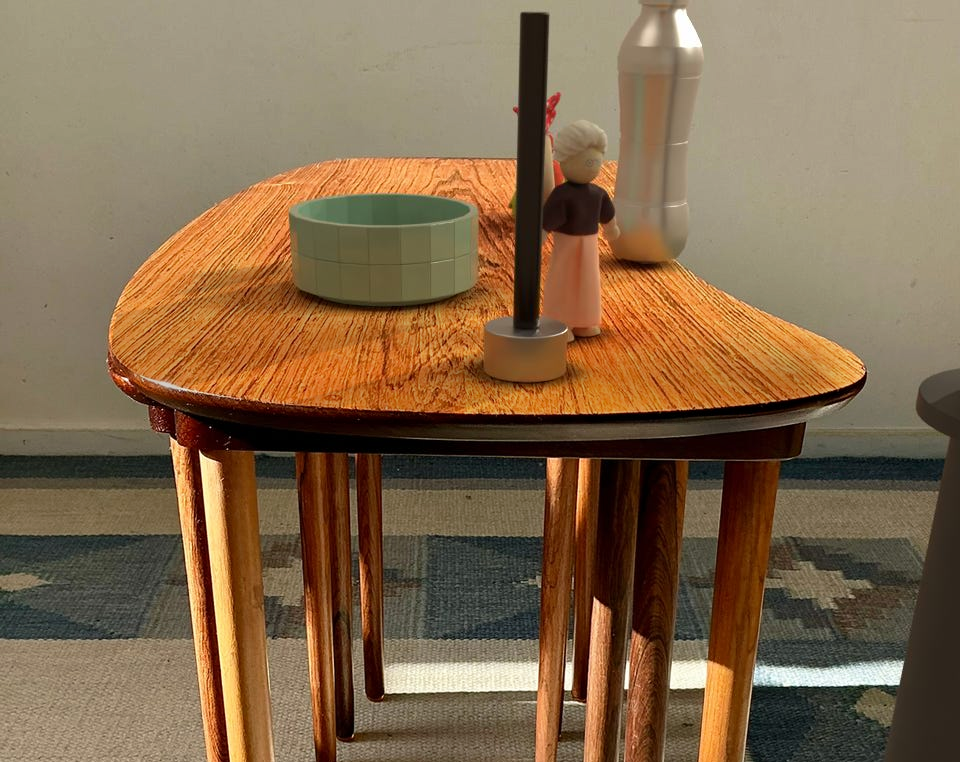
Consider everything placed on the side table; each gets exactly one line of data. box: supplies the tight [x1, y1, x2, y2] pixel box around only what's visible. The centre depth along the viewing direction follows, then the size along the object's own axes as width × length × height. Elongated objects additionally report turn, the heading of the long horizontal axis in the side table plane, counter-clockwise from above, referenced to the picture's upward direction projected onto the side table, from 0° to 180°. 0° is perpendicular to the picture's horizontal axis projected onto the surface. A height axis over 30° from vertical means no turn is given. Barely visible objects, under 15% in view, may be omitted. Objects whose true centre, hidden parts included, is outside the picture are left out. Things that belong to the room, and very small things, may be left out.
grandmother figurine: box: [541, 119, 620, 343], centre depth 75 cm, size 8×4×13 cm, turn 143°
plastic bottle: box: [607, 0, 705, 265], centre depth 92 cm, size 6×7×20 cm
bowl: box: [288, 192, 480, 307], centre depth 87 cm, size 13×13×6 cm
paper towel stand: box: [483, 11, 568, 383], centre depth 67 cm, size 5×5×19 cm
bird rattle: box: [507, 91, 567, 218], centre depth 108 cm, size 6×11×9 cm
